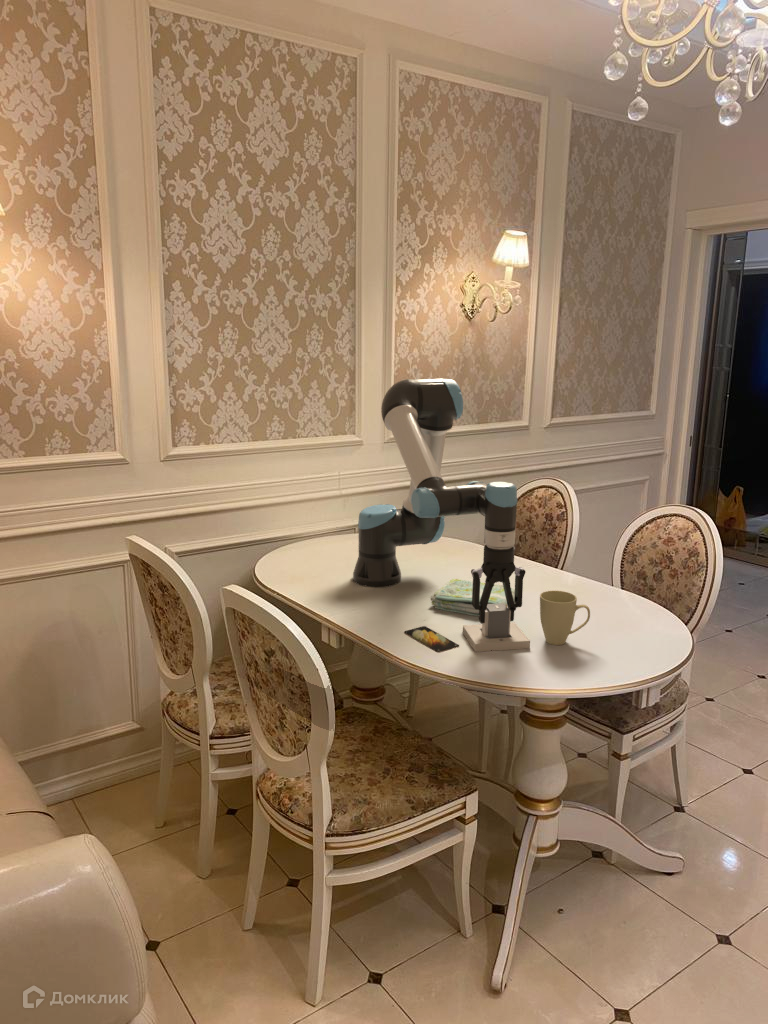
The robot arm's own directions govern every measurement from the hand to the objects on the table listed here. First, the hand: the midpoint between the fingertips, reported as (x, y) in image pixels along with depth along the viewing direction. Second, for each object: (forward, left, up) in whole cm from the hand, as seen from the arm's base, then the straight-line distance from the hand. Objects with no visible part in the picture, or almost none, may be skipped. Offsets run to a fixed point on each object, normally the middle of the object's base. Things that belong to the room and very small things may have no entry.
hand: (495, 633), depth 189 cm
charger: (0, 0, 0) cm, 0 cm away
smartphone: (-3, -16, -2) cm, 16 cm away
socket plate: (0, 0, -2) cm, 2 cm away
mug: (+3, +16, -2) cm, 16 cm away
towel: (-26, +2, -3) cm, 26 cm away
